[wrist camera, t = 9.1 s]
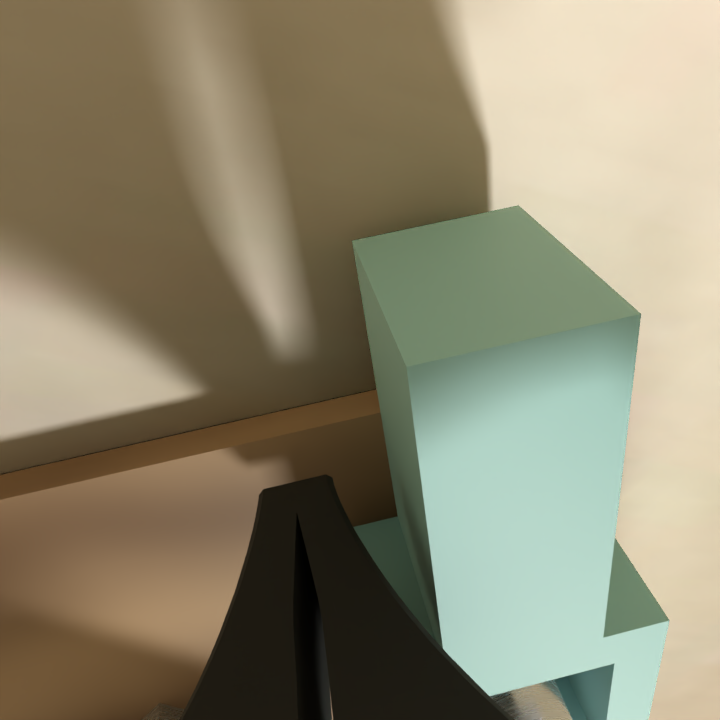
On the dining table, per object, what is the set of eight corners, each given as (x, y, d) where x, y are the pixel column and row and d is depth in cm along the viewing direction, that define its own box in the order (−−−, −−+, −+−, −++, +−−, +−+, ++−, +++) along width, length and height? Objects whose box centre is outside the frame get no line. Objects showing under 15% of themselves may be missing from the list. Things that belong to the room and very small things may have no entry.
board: (575, 757, 25) (585, 779, 25) (149, 873, 24) (147, 899, 24) (614, 335, 14) (632, 354, 14) (-172, 514, 13) (-194, 544, 12)
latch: (556, 772, 24) (609, 904, 21) (411, 812, 24) (441, 953, 20) (588, 190, 11) (739, 292, 8) (277, 256, 11) (300, 390, 8)
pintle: (493, 567, 18) (582, 773, 13) (424, 585, 18) (491, 799, 13) (491, 519, 17) (587, 726, 12) (417, 537, 17) (487, 754, 12)
